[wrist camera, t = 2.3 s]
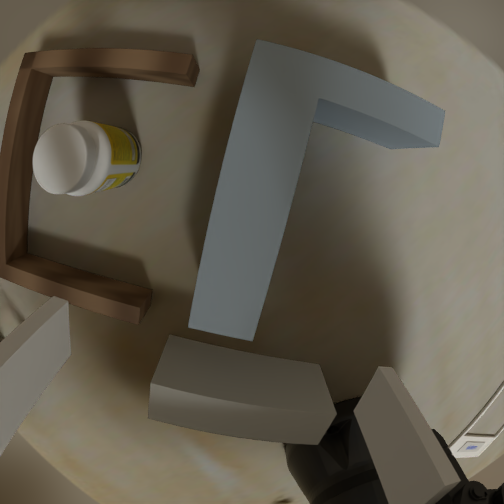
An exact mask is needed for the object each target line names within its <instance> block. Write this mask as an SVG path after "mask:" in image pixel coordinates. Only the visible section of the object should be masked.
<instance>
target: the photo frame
mask: <svg viewBox="0 0 504 504" xmlns="http://www.w3.org/2000/svg"><path fill="white" fill-rule="evenodd" d="M503 388H504V382H503V383H502V384H501V386H500V387H499V389H498V390H497V391H496V392H495V394H494V395H493V396H492V398H491V399H490V400H489V401H488V403H487V404H486V405H485V406H484V408H483V409H482V410H481V411H480V412H479V414H478V415H477V416H476V417H475V418H474V419H473V421H472V422H471V423H470V424H469V425H468V426H467V427H466V428H465V429H464V431H463V432H462V433H461V434H460V435H459V436H458V437H457V438H456V439H455V440H454V441H453V442H452V443H451V444H450V445H449V446H448V448H449V449H450V450H451V452H452V455H454V457H455V458H463V457H478V456H479V455H480V454H481V453H482V452H483V451H484V450H485V449H486V448H487V447H488V446H489V445H490V444H491V443H492V442H493V441H494V440H495V438H496V437H497V436H498V435H499V434H500V433H501V432H502V431H503V429H504V425H503V426H502V427H501V428H500V430H499V431H498V432H497V433H496V434H495V435H494V436H486V435H469V434H466V433H467V432H468V431H469V430H470V429H471V427H472V426H473V425H474V424H475V423H476V422H477V421H478V420H479V418H480V417H481V416H482V415H483V414H484V412H485V411H486V410H487V409H488V408H489V406H490V405H491V404H492V403H493V401H494V400H495V399H496V398H497V396H498V395H499V394H500V392H501V391H502V390H503Z"/></svg>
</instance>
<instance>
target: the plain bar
mask: <svg viewBox="0 0 504 504" xmlns="http://www.w3.org/2000/svg"><path fill="white" fill-rule="evenodd" d="M336 414H337V413H336V410H335V407H334V404H333V402H332V399H331V396H330V393H329V390H328V387H327V384H326V382H325V379H324V376H323V373H322V370H321V368H320V365H319V364H314V363H307V362H301V361H294V360H288V359H282V358H276V357H271V356H265V355H260V354H254V353H249V352H244V351H239V350H234V349H230V348H225V347H220V346H216V345H211V344H207V343H202V342H198V341H194V340H190V339H186V338H182V337H178V336H174V335H169V337H168V340H167V342H166V345H165V347H164V350H163V352H162V355H161V357H160V360H159V363H158V365H157V368H156V370H155V373H154V375H153V378H152V381H151V385H150V396H149V409H148V418H149V419H153V420H157V421H160V422H164V423H168V424H172V425H176V426H181V427H185V428H190V429H194V430H199V431H204V432H209V433H215V434H220V435H226V436H232V437H239V438H246V439H253V440H262V441H271V442H281V443H293V444H310V445H318V444H319V442H320V440H321V439H322V437H323V436H324V434H325V433H326V431H327V429H328V428H329V426H330V424H331V423H332V421H333V419H334V418H335V416H336Z"/></svg>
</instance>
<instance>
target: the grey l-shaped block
mask: <svg viewBox="0 0 504 504" xmlns="http://www.w3.org/2000/svg"><path fill="white" fill-rule="evenodd" d="M444 116H445V111H444V110H443V109H441V108H439V107H437V106H435V105H434V104H432V103H430V102H428V101H426V100H424V99H422V98H420V97H418V96H416V95H414V94H412V93H410V92H408V91H406V90H404V89H402V88H400V87H398V86H396V85H394V84H391V83H389V82H387V81H385V80H382V79H380V78H378V77H375V76H373V75H370V74H368V73H366V72H363V71H361V70H358V69H355V68H353V67H350V66H347V65H345V64H342V63H339V62H336V61H333V60H330V59H328V58H324V57H321V56H318V55H315V54H312V53H309V52H305V51H302V50H298V49H295V48H291V47H288V46H284V45H280V44H276V43H272V42H268V41H263V40H259V39H257V40H256V43H255V46H254V50H253V53H252V56H251V60H250V63H249V67H248V70H247V74H246V77H245V81H244V84H243V88H242V91H241V95H240V99H239V102H238V106H237V110H236V113H235V117H234V121H233V125H232V128H231V132H230V136H229V140H228V144H227V148H226V152H225V156H224V160H223V164H222V168H221V172H220V176H219V181H218V185H217V189H216V193H215V198H214V202H213V206H212V211H211V215H210V220H209V224H208V229H207V233H206V238H205V243H204V247H203V252H202V257H201V262H200V267H199V272H198V277H197V282H196V287H195V292H194V297H193V302H192V308H191V313H190V318H189V324H188V328H193V329H197V330H201V331H206V332H210V333H215V334H219V335H224V336H229V337H233V338H238V339H243V340H248V341H253V338H254V335H255V331H256V328H257V325H258V321H259V318H260V314H261V311H262V308H263V304H264V301H265V297H266V294H267V290H268V287H269V283H270V280H271V276H272V273H273V269H274V266H275V262H276V259H277V255H278V252H279V248H280V245H281V241H282V237H283V234H284V230H285V226H286V223H287V219H288V215H289V212H290V208H291V204H292V201H293V197H294V193H295V189H296V186H297V182H298V178H299V174H300V170H301V167H302V163H303V159H304V155H305V151H306V147H307V143H308V139H309V136H310V132H311V128H312V124H313V122H316V123H319V124H322V125H326V126H329V127H332V128H335V129H338V130H341V131H344V132H346V133H349V134H352V135H355V136H358V137H360V138H363V139H366V140H368V141H371V142H374V143H376V144H379V145H381V146H384V147H386V148H389V149H402V148H425V147H439V145H440V139H441V134H442V128H443V123H444Z"/></svg>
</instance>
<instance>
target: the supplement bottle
mask: <svg viewBox="0 0 504 504" xmlns="http://www.w3.org/2000/svg"><path fill="white" fill-rule="evenodd" d="M140 162H141V148H140V145H139V142H138V140H137V139H136V137H135V136H134V135H133V134H132V133H130V132H129V131H127V130H125V129H122V128H118V127H114V126H110V125H105V124H101V123H96V122H92V121H85V120H83V121H76V122H73V123H71V124H57V125H54V126H52V127H50V128H49V129H47V130H46V131H45V132H44V133H43V134H42V136H41V137H40V138H39V140H38V142H37V144H36V146H35V149H34V153H33V171H34V175H35V178H36V180H37V182H38V183H39V185H40V186H41V187H42V188H43V189H44V190H46V191H47V192H49V193H52V194H65V193H66V194H68V195H72V196H84V195H88V194H92V193H96V192H100V191H104V190H108V189H112V188H116V187H120V186H123V185H125V184H126V183H128V182H129V181H130V180H131V179H132V178H133V177H134V176H135V174H136V173H137V171H138V169H139V166H140Z"/></svg>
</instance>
